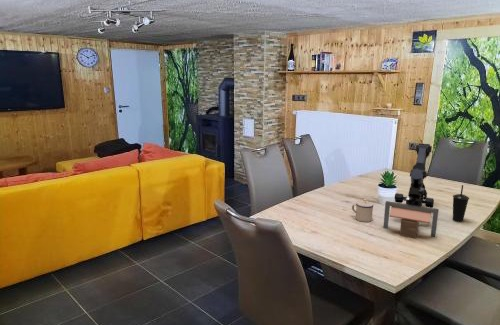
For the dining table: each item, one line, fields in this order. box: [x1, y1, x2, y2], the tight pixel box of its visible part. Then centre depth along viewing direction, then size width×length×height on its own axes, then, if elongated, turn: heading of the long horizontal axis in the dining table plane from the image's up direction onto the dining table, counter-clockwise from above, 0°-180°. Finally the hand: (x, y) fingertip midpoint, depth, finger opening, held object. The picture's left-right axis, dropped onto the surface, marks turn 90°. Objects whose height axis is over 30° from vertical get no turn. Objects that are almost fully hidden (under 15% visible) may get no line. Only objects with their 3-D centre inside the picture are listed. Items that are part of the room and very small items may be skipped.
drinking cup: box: [452, 184, 470, 223], centre depth 189 cm, size 8×8×20 cm
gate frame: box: [383, 200, 439, 238], centre depth 176 cm, size 2×24×14 cm, turn 60°
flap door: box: [389, 206, 432, 224], centre depth 173 cm, size 1×18×6 cm
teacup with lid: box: [351, 198, 374, 223], centre depth 194 cm, size 12×9×12 cm
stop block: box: [399, 219, 420, 239], centre depth 177 cm, size 14×7×8 cm, turn 150°
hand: (411, 214), depth 182 cm, fingers closed, pressing on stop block
